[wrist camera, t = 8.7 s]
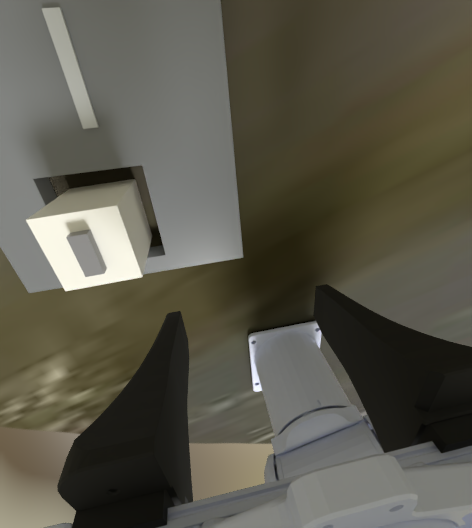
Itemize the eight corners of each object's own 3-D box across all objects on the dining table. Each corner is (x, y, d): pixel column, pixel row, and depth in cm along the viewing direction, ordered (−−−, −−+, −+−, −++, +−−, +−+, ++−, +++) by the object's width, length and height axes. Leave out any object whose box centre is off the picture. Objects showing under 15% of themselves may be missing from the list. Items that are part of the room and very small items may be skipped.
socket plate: (239, 247, 23) (243, 258, 21) (40, 279, 21) (27, 294, 19) (214, -16, 14) (218, -33, 13) (-117, 4, 13) (-163, -12, 11)
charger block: (152, 235, 21) (141, 282, 15) (94, 245, 20) (61, 297, 15) (135, 178, 19) (114, 209, 13) (69, 188, 18) (19, 224, 13)
